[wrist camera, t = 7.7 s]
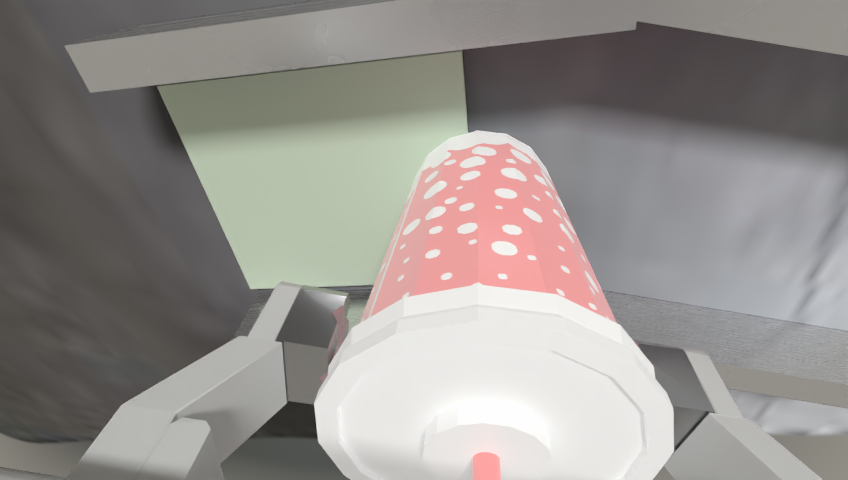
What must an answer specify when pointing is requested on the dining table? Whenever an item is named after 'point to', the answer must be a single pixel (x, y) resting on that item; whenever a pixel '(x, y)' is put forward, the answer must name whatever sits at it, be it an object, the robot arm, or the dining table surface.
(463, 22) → the rail corridor
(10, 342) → the dining table surface
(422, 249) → the beverage cup
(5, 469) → the robot arm
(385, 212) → the pad
